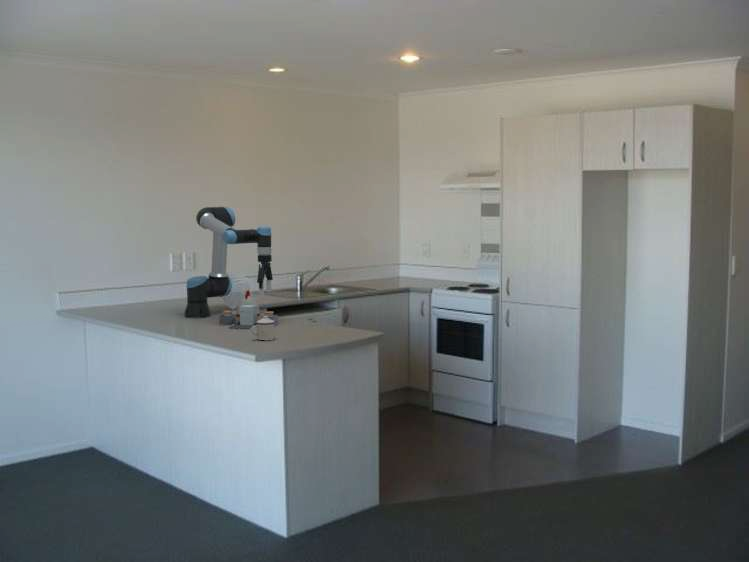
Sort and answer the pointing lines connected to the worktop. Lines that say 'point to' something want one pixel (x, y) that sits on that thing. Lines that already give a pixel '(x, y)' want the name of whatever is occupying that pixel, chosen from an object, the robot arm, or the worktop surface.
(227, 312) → the plunger
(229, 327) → the mat
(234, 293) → the heart
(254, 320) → the small box
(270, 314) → the plunger
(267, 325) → the teacup with lid
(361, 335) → the worktop surface
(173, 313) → the worktop surface
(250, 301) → the white red kettle
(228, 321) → the housing
